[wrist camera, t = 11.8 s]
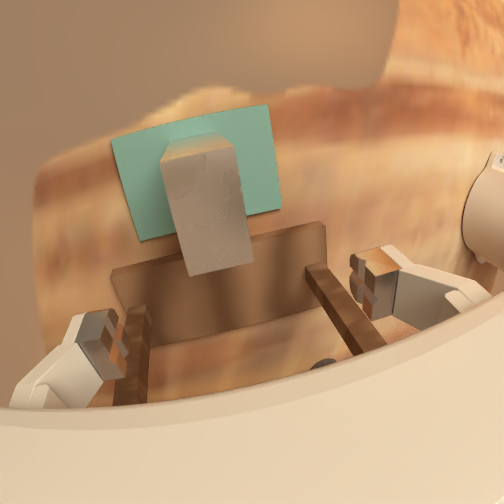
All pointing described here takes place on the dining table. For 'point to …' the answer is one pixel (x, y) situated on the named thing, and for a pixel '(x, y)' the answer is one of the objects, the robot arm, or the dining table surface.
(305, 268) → the stand
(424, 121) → the dining table surface
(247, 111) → the mat
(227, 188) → the tall rectangular pillar
